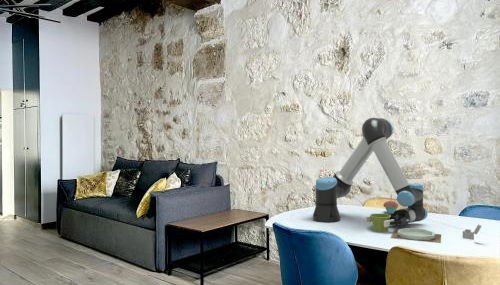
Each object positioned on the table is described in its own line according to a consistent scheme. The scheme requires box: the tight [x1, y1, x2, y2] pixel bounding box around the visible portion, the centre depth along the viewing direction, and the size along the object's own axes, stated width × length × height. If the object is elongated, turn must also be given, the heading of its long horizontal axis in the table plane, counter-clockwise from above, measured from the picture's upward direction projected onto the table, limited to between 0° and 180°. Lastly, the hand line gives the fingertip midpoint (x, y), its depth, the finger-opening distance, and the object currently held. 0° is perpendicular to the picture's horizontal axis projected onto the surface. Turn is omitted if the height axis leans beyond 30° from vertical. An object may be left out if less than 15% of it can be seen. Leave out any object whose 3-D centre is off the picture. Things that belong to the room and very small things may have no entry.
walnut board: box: [390, 229, 442, 244], centre depth 172 cm, size 20×16×2 cm
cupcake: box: [383, 194, 399, 214], centre depth 234 cm, size 9×8×12 cm
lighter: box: [462, 224, 483, 240], centre depth 167 cm, size 7×2×8 cm, turn 50°
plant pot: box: [369, 213, 391, 233], centre depth 184 cm, size 9×9×9 cm
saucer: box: [397, 227, 436, 242], centre depth 172 cm, size 15×15×2 cm
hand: (374, 221), depth 182 cm, fingers open, 10 cm apart
